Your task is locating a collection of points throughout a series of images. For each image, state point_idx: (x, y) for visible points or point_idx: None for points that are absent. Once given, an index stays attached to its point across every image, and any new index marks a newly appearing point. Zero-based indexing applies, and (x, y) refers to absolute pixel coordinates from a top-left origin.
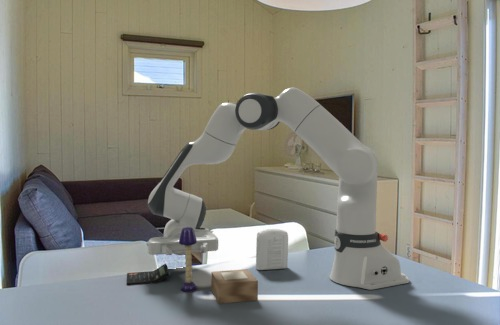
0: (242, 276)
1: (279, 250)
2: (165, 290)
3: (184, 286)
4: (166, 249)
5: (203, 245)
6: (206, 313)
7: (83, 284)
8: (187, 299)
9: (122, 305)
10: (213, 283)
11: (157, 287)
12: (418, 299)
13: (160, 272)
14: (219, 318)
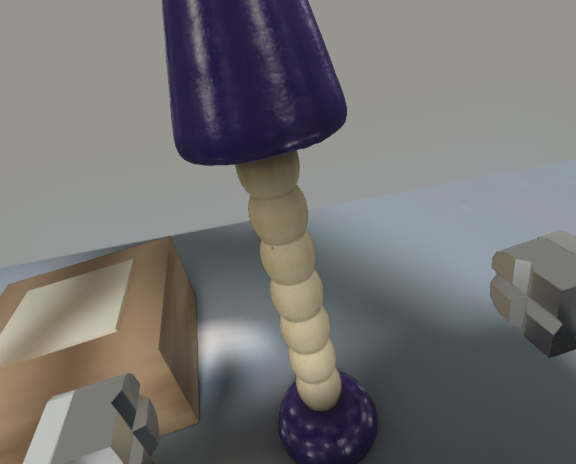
0: (37, 302)
1: None
2: (465, 383)
3: (344, 374)
4: (564, 237)
5: (49, 455)
6: (241, 244)
7: None
8: None
9: (538, 228)
10: (179, 336)
11: (559, 427)
12: None
13: None
14: (211, 233)
